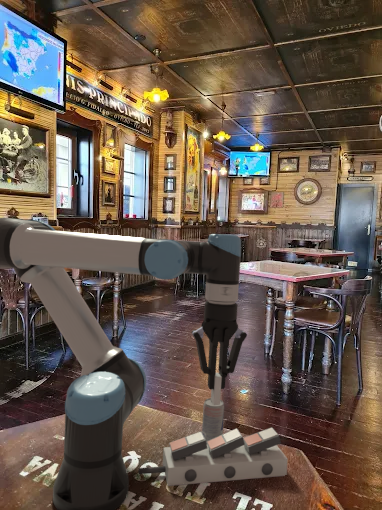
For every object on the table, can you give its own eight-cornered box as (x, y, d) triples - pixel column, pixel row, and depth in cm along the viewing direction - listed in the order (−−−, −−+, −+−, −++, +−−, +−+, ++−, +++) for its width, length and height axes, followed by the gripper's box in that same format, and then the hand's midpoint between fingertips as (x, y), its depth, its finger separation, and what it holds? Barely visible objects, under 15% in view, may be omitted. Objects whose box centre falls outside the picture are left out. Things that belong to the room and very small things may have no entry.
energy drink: (221, 442, 99) (224, 398, 99) (221, 454, 94) (224, 407, 93) (201, 440, 100) (204, 396, 99) (200, 452, 94) (203, 405, 94)
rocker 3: (249, 455, 86) (247, 446, 86) (243, 445, 90) (242, 437, 90) (280, 443, 88) (279, 435, 88) (273, 434, 92) (271, 426, 92)
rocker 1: (173, 460, 83) (171, 451, 82) (170, 450, 87) (168, 442, 86) (207, 448, 84) (205, 439, 84) (203, 438, 88) (201, 430, 88)
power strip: (139, 489, 79) (141, 466, 79) (137, 465, 87) (138, 444, 87) (287, 476, 86) (288, 455, 86) (272, 455, 94) (273, 436, 94)
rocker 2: (213, 458, 85) (210, 450, 84) (208, 449, 89) (206, 441, 88) (245, 444, 86) (242, 436, 86) (239, 435, 90) (236, 427, 90)
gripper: (197, 303, 80) (191, 410, 81) (254, 304, 83) (247, 408, 84) (190, 298, 88) (184, 396, 88) (242, 299, 90) (236, 394, 91)
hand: (215, 402), depth 86 cm, fingers closed
